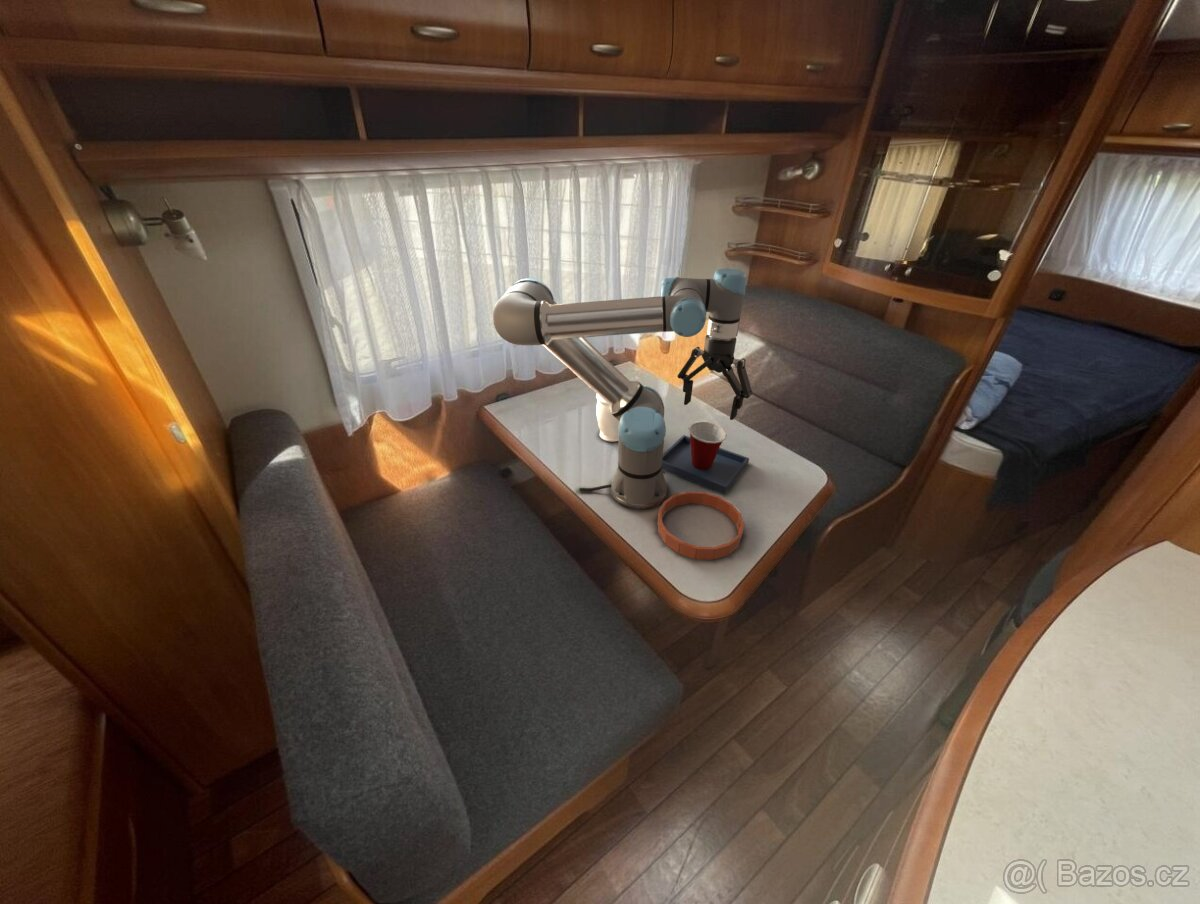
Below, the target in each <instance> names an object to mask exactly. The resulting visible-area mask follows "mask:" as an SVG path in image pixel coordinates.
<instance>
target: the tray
mask: <svg viewBox="0 0 1200 904" xmlns="http://www.w3.org/2000/svg"><path fill="white" fill-rule="evenodd" d="M749 461H750V458H749V457H747V456H745V455H741V454H738V453H736V452H733V451H730V450H727V449H726V448H725V449H724V448H722V447H719V450H718V452H717V455H716V457H715V459H714V461H713V464H712V466H711V468H709V469H707V470H700V469H697V468H695V467H694V466H693V464H692V456H691V441H690V436H688V435H685V434H683V435H682V436H681V437H680V438H679V439H677V440H676V441H675V443H673V444H672V445H671V446H670V447H669V448H668V449H667V450H665V452H663V459H662V469H664V470H666V471H665V472H668V473H670V474H673V475H676V476H678V477H680V478H683V479H685V480H688V481H690V482H693V483H695V484H697V485H699V486H702V487H705V488H708V489H710V490H713V491H715V492H717V493H720V494H722V495H726V494H727V492H728V491H729V489H730V488H731V487H732V486H733V484H734V483H735V482H736V481H737V480H738V478H739V477H740V476H741V474H742V473H743V472H744V471H745V469H746V468H747V467H748V466H749Z"/></svg>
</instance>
